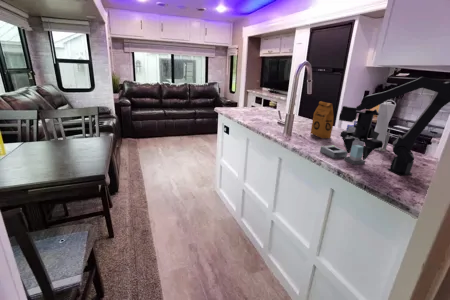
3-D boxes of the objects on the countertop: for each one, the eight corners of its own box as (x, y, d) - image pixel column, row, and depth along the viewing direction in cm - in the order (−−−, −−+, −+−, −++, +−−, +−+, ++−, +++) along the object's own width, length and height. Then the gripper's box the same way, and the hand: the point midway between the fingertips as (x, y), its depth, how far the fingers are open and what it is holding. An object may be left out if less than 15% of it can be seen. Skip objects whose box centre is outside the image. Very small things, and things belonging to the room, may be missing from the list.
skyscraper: (382, 152, 127) (397, 100, 118) (366, 148, 133) (379, 98, 123) (386, 149, 133) (400, 99, 124) (370, 146, 138) (383, 98, 129)
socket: (346, 157, 117) (347, 151, 116) (333, 158, 115) (334, 152, 114) (332, 150, 126) (333, 144, 125) (319, 151, 124) (321, 145, 123)
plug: (360, 163, 110) (364, 147, 108) (354, 163, 109) (358, 147, 107) (354, 160, 113) (358, 144, 111) (348, 160, 112) (352, 145, 110)
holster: (364, 163, 110) (365, 161, 109) (354, 165, 108) (355, 162, 107) (354, 159, 115) (354, 156, 115) (344, 160, 113) (344, 157, 113)
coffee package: (319, 139, 146) (326, 103, 139) (308, 134, 157) (313, 100, 150) (333, 138, 149) (340, 104, 142) (320, 133, 160) (326, 101, 153)
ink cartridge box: (361, 146, 136) (367, 121, 131) (363, 149, 131) (369, 123, 126) (342, 144, 139) (348, 120, 134) (344, 146, 134) (349, 121, 129)
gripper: (396, 128, 99) (386, 162, 104) (360, 119, 116) (353, 148, 121) (376, 129, 96) (367, 164, 101) (342, 119, 113) (336, 150, 118)
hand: (355, 156), depth 110 cm, fingers open, 9 cm apart
